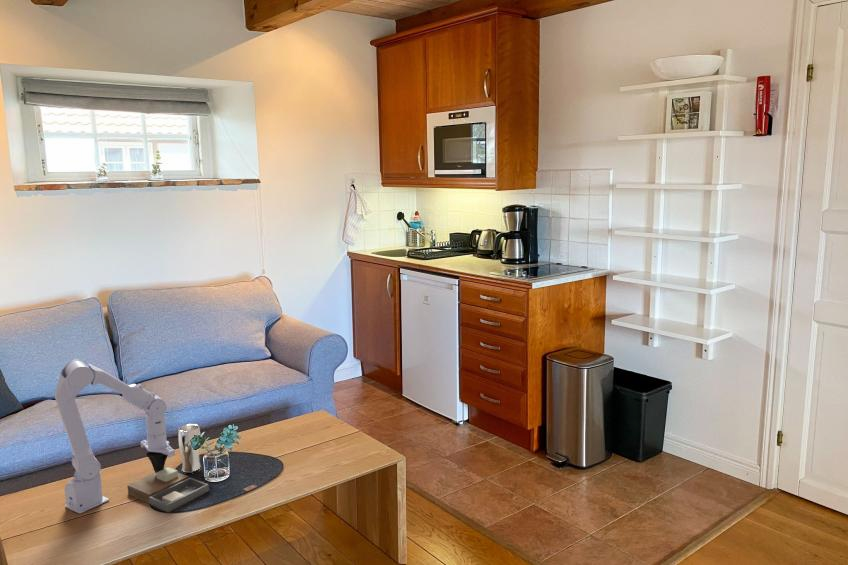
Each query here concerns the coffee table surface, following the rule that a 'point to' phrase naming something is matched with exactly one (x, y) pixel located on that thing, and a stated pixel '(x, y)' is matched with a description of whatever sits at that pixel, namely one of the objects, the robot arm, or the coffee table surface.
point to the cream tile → (171, 497)
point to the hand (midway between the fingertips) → (159, 472)
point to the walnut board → (152, 486)
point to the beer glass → (189, 447)
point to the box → (180, 488)
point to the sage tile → (167, 474)
